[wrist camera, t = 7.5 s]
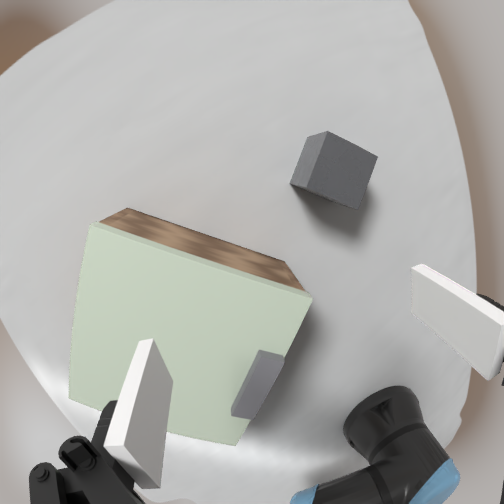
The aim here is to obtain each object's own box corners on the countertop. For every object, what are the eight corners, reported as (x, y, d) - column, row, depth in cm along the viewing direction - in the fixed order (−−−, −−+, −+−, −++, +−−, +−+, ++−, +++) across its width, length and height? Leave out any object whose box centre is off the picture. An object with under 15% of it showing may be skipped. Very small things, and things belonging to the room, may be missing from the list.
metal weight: (350, 157, 36) (377, 156, 29) (333, 201, 37) (357, 210, 30) (307, 137, 34) (327, 131, 28) (289, 183, 36) (306, 187, 29)
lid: (308, 292, 28) (317, 304, 26) (234, 437, 33) (236, 453, 30) (96, 221, 24) (84, 227, 22) (72, 390, 29) (65, 404, 26)
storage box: (284, 261, 38) (306, 293, 28) (230, 385, 42) (234, 434, 33) (127, 207, 34) (96, 222, 25) (97, 344, 38) (73, 387, 29)
